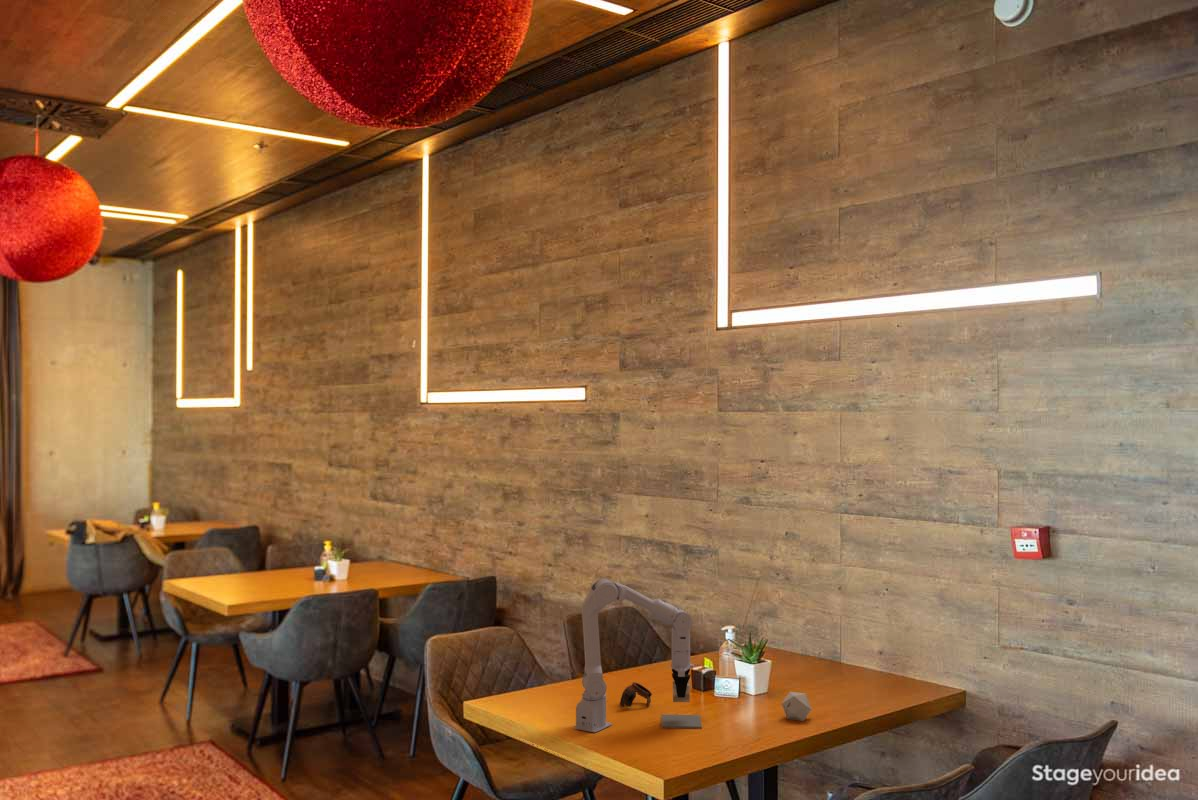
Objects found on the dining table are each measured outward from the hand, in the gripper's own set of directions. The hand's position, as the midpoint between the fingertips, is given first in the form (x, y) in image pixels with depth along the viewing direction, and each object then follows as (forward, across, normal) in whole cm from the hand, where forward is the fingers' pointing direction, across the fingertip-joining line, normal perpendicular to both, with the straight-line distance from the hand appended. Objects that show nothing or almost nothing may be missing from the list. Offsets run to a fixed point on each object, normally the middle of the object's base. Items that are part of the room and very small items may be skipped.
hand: (681, 694), depth 303 cm
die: (+9, +6, -36) cm, 37 cm away
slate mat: (+8, 0, 0) cm, 8 cm away
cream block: (+2, 0, 0) cm, 2 cm away
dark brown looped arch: (+9, +17, +15) cm, 24 cm away
